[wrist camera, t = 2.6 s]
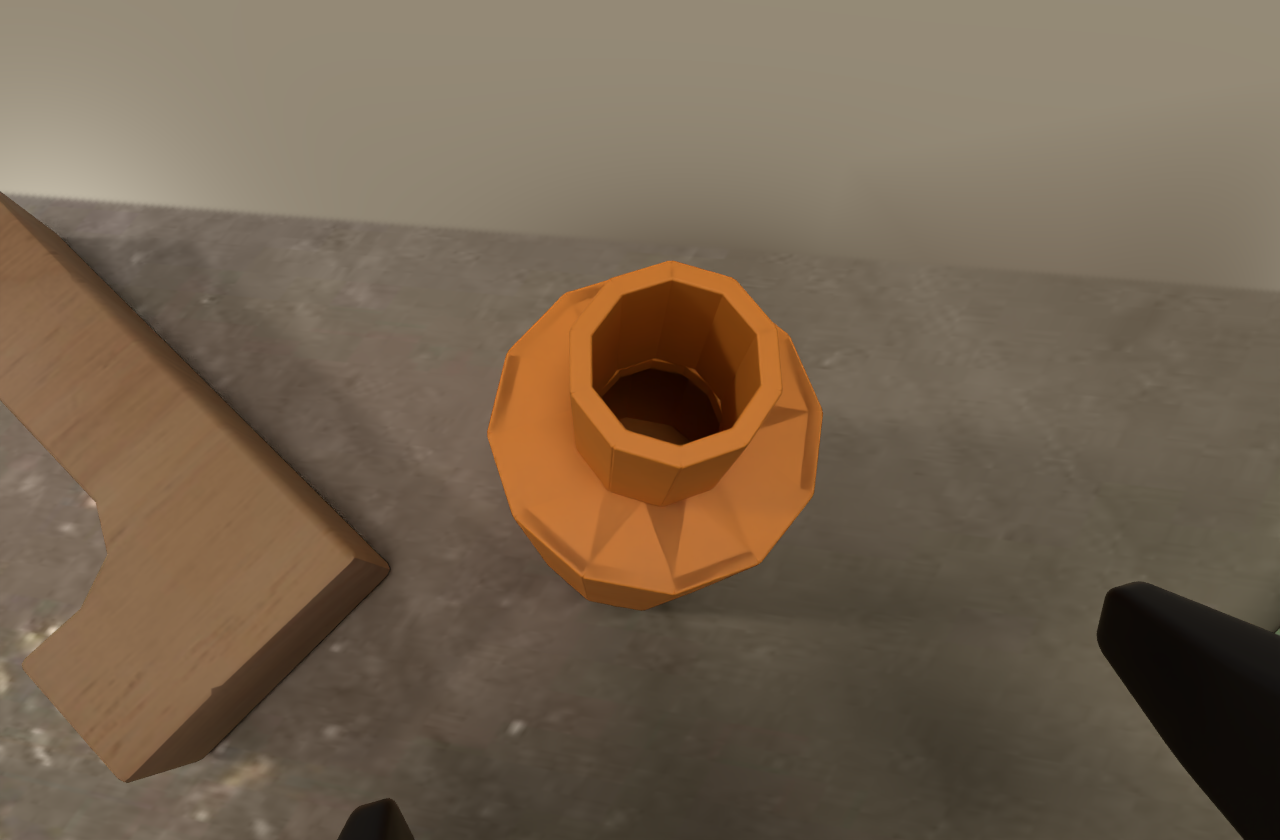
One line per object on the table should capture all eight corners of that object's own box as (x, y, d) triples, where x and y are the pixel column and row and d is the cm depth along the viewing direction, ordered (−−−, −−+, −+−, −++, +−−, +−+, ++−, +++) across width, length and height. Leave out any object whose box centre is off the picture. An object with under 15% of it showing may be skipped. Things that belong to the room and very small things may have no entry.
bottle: (759, 567, 21) (956, 488, 9) (571, 637, 20) (536, 643, 9) (688, 390, 22) (787, 132, 11) (510, 449, 22) (410, 238, 10)
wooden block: (395, 570, 20) (56, 232, 23) (359, 557, 17) (-31, 167, 19) (200, 764, 19) (-145, 380, 21) (120, 789, 16) (-275, 334, 18)
